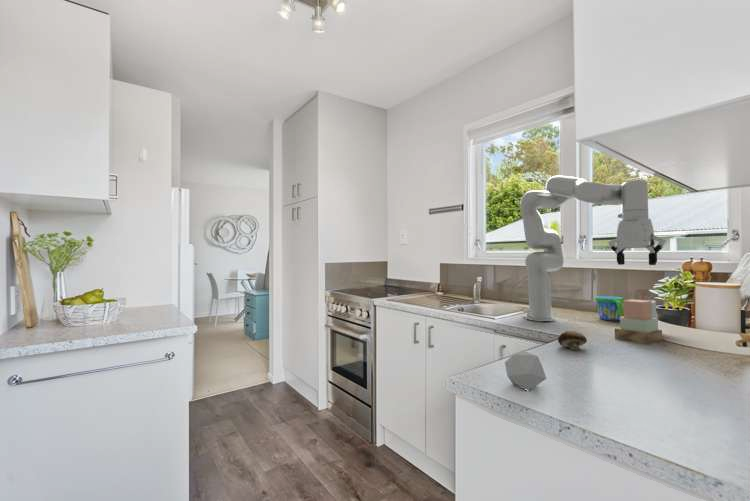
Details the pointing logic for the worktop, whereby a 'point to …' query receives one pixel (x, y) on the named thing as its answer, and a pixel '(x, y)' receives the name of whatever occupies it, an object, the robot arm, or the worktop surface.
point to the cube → (637, 309)
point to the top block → (639, 324)
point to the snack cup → (609, 307)
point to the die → (525, 370)
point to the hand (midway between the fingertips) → (636, 264)
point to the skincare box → (654, 309)
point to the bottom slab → (638, 336)
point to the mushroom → (572, 340)
